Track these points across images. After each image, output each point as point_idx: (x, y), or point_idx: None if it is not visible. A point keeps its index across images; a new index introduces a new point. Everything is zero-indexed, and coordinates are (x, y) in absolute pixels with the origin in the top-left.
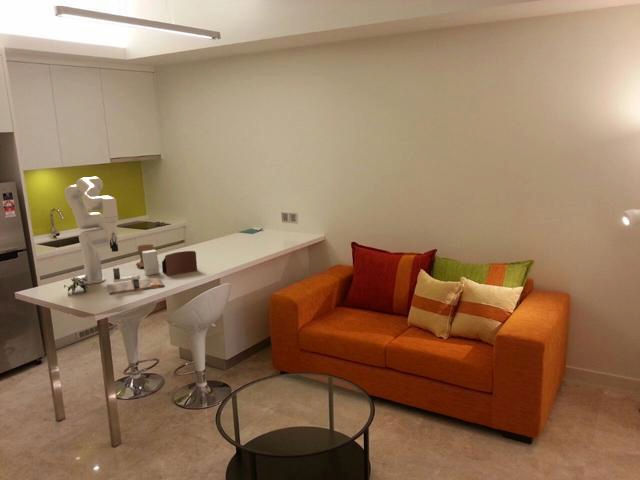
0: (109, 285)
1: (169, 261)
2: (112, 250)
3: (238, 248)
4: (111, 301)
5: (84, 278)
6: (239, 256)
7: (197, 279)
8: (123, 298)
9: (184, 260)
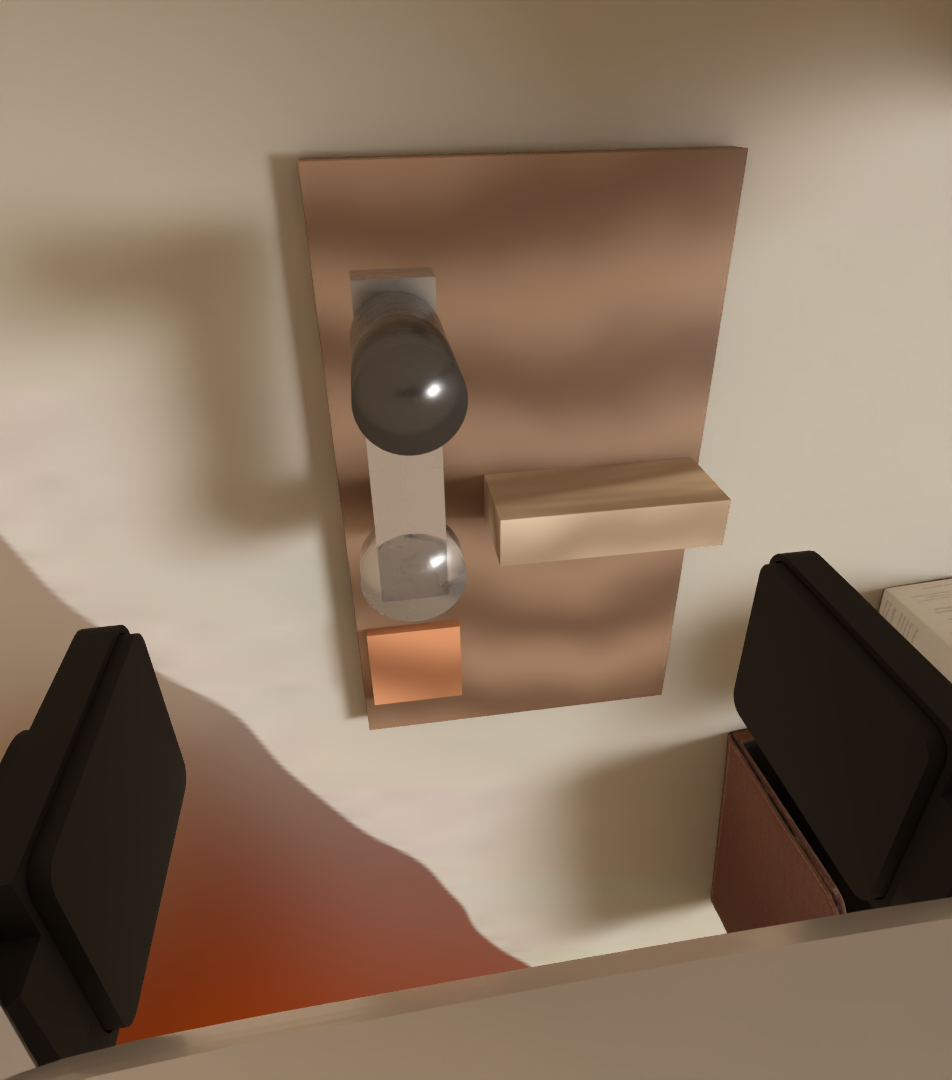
0: (685, 183)
1: (794, 868)
2: (74, 670)
3: None
4: None
5: None
6: None
7: (464, 901)
8: (40, 331)
9: None
